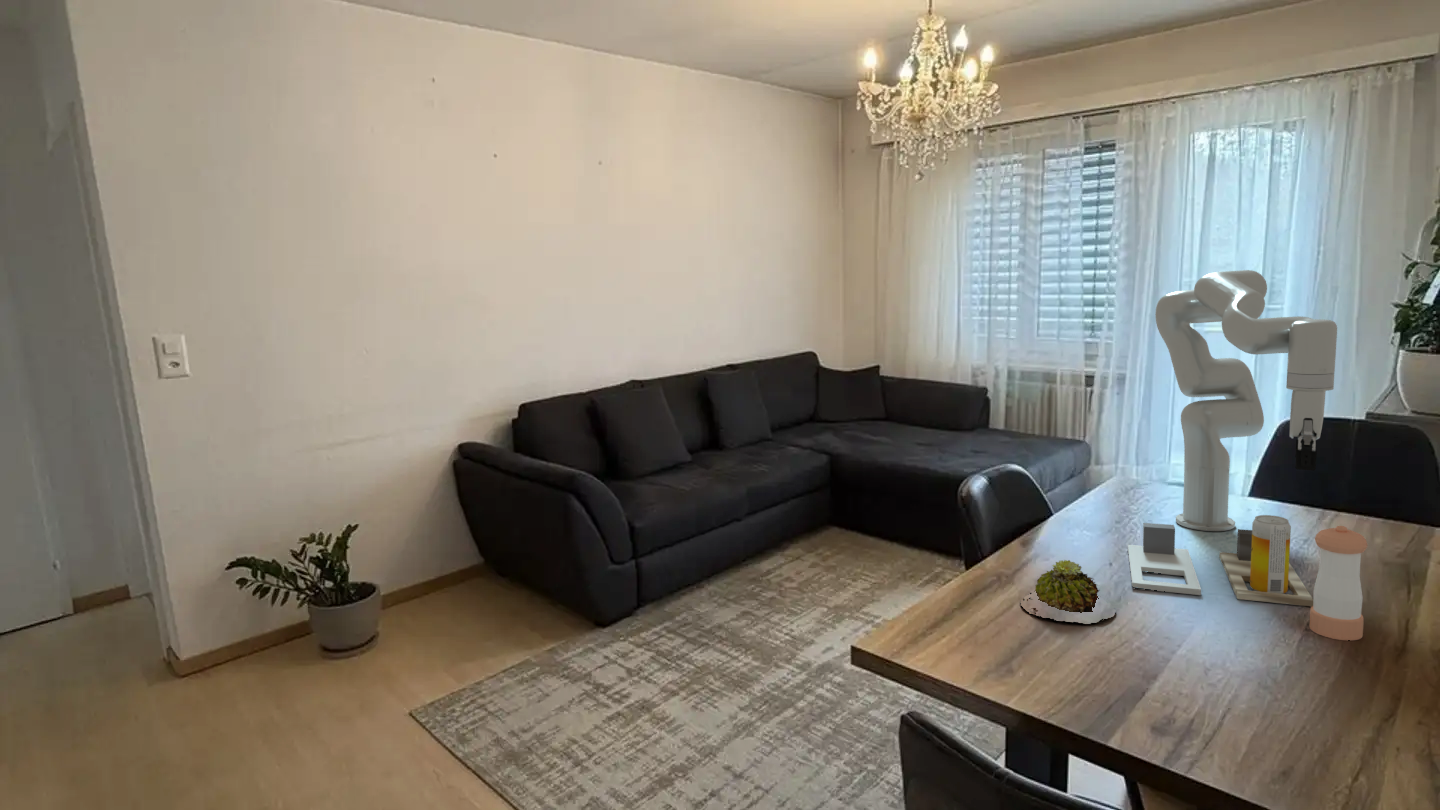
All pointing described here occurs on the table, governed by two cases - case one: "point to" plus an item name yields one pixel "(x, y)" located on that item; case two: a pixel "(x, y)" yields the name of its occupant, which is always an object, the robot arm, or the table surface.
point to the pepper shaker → (1338, 585)
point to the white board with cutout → (1162, 561)
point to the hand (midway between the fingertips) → (1305, 464)
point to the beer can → (1270, 554)
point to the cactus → (1067, 588)
